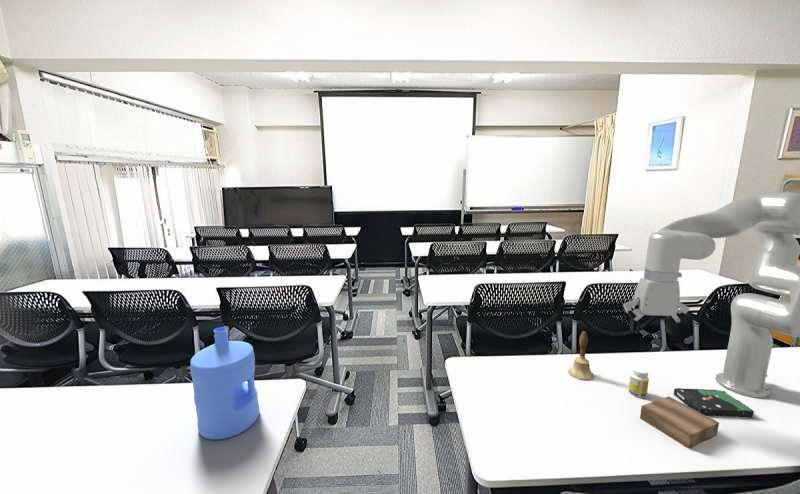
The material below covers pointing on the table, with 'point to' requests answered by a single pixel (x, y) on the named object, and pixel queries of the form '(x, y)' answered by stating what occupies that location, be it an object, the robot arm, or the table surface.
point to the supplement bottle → (639, 382)
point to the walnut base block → (679, 421)
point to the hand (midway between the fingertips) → (651, 332)
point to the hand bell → (581, 362)
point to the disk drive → (713, 403)
